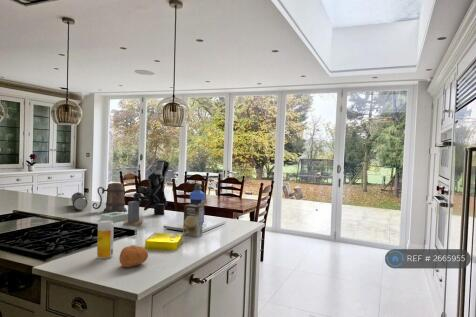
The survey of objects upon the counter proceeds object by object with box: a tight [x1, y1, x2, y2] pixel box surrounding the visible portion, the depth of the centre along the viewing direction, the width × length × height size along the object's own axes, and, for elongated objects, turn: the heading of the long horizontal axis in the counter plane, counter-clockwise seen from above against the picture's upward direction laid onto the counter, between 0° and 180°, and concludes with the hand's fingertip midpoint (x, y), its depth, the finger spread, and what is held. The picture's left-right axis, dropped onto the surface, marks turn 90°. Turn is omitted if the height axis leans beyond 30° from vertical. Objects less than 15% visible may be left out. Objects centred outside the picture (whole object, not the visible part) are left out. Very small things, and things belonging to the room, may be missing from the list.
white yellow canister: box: [96, 220, 115, 260], centre depth 136 cm, size 6×6×15 cm
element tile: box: [144, 232, 184, 252], centre depth 155 cm, size 15×15×5 cm
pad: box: [122, 219, 144, 227], centre depth 196 cm, size 10×10×2 cm
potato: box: [118, 244, 149, 268], centre depth 128 cm, size 9×11×8 cm
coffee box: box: [182, 203, 204, 238], centre depth 176 cm, size 9×6×16 cm
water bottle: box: [189, 183, 206, 224], centre depth 203 cm, size 9×9×25 cm
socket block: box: [99, 212, 128, 223], centre depth 204 cm, size 12×11×4 cm
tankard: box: [92, 182, 128, 214], centre depth 232 cm, size 24×17×20 cm
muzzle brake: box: [71, 192, 88, 211], centre depth 241 cm, size 10×28×10 cm, turn 30°
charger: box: [127, 200, 140, 223], centre depth 196 cm, size 5×4×12 cm
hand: (138, 209), depth 200 cm, fingers open, 9 cm apart
